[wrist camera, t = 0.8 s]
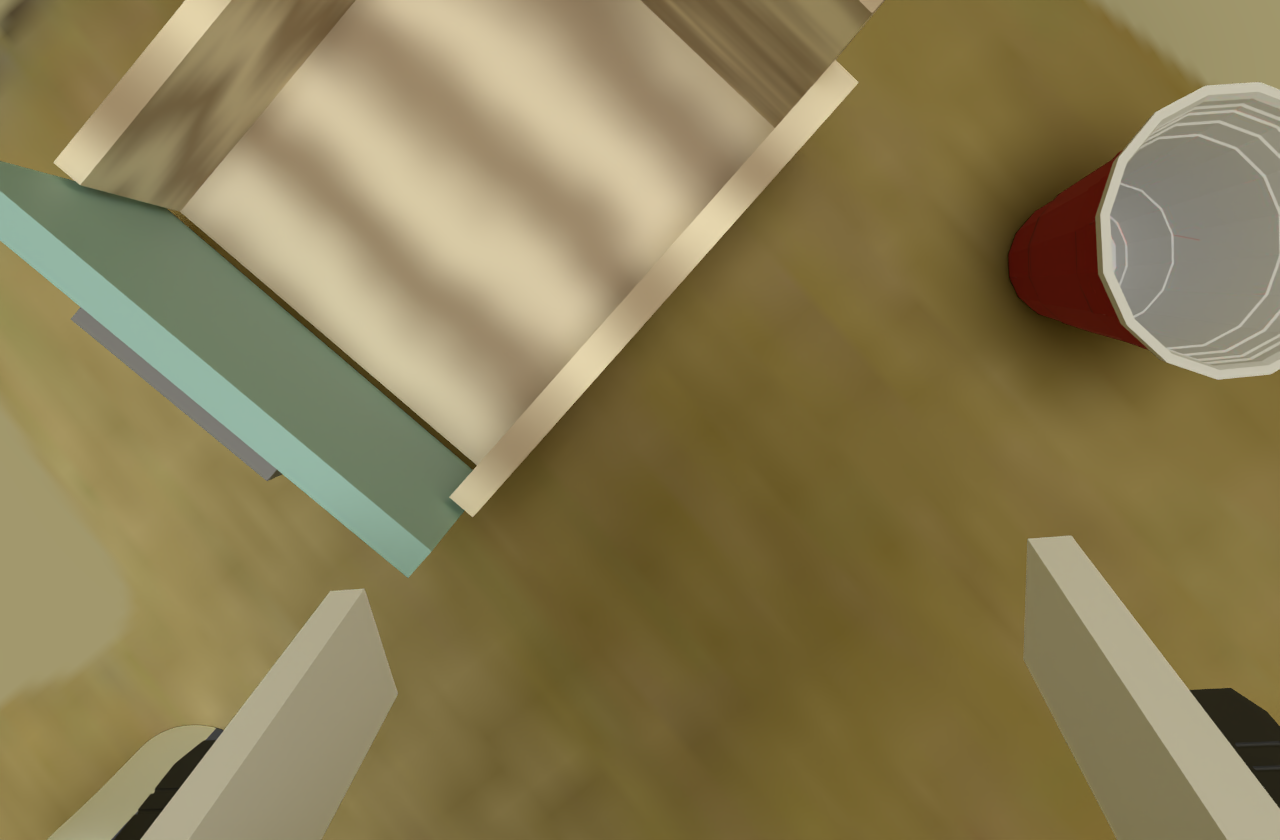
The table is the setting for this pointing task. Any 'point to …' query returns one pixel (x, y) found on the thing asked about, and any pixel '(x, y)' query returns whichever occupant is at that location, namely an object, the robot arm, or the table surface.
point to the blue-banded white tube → (132, 785)
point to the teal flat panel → (235, 360)
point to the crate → (471, 174)
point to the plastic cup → (1172, 238)
